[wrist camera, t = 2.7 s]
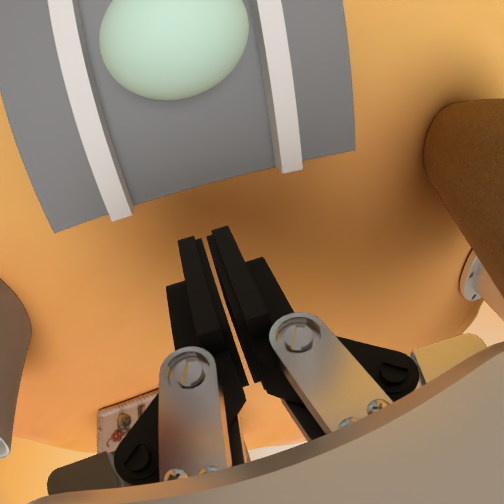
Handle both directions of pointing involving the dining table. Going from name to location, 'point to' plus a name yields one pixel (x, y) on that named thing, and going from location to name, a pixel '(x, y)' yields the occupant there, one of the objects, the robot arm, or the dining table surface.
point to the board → (168, 107)
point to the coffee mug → (11, 359)
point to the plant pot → (472, 175)
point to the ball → (172, 44)
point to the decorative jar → (123, 421)
